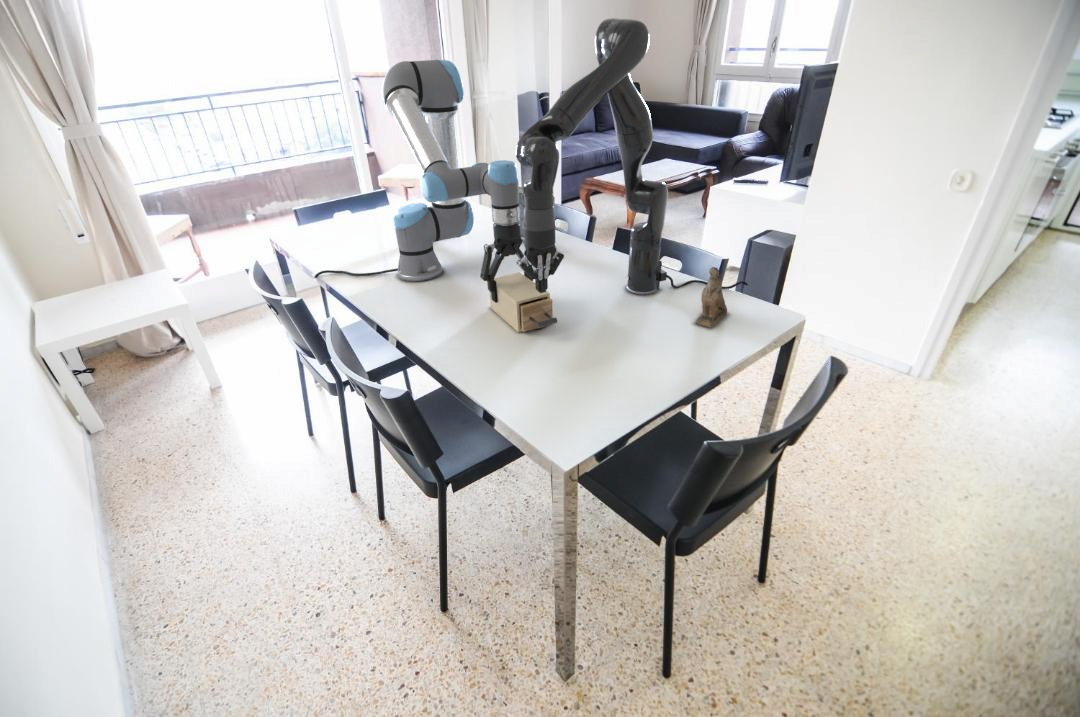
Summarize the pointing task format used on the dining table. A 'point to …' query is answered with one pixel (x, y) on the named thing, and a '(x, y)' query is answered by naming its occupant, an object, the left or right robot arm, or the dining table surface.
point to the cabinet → (514, 297)
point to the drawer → (536, 314)
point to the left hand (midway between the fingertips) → (511, 296)
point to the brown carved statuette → (712, 301)
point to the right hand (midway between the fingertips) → (541, 291)
